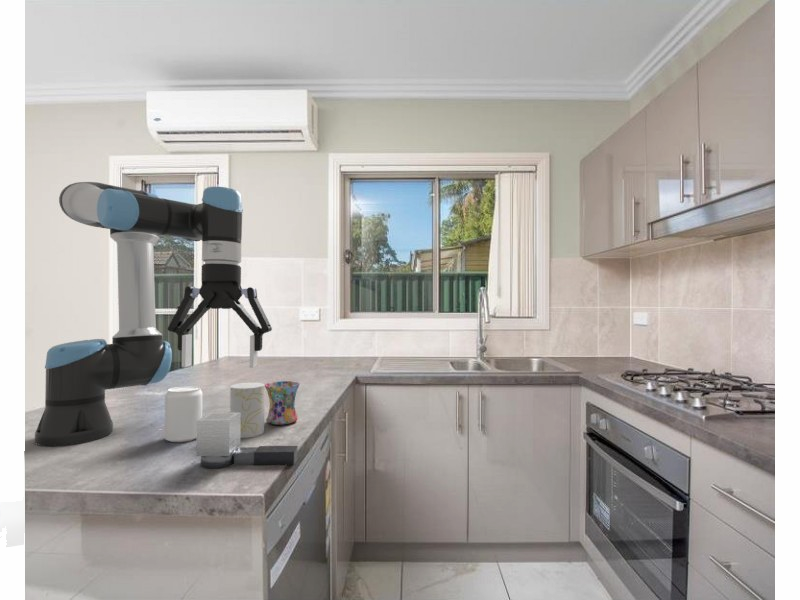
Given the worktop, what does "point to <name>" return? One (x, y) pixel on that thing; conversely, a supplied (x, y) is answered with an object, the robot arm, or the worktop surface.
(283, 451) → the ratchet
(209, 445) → the brushed cube with inset
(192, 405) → the beverage can
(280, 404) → the mug
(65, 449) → the worktop surface
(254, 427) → the cup
